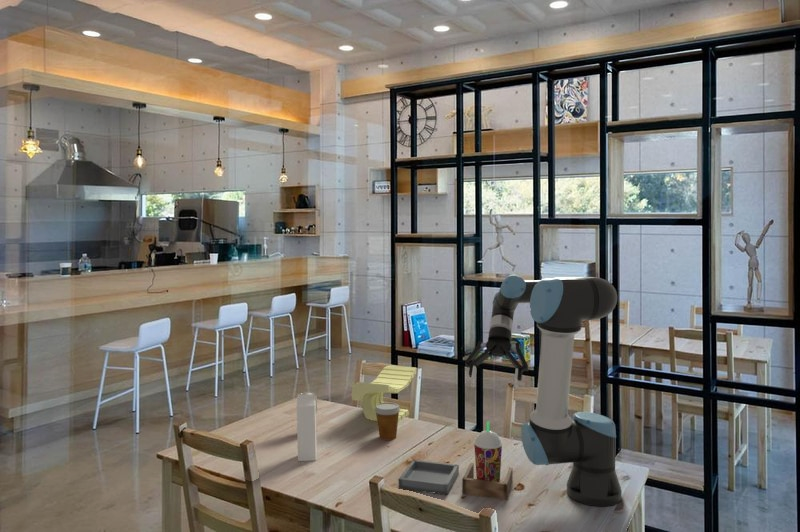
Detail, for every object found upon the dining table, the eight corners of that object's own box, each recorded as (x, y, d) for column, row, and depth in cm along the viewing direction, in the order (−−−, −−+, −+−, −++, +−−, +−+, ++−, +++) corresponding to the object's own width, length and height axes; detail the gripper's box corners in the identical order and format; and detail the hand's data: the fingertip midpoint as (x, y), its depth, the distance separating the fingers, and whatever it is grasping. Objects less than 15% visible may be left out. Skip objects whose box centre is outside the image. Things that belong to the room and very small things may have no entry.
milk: (315, 460, 194) (314, 396, 192) (297, 461, 193) (296, 397, 192) (316, 453, 200) (315, 391, 198) (299, 454, 199) (297, 392, 198)
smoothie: (502, 494, 167) (501, 427, 166) (473, 492, 169) (472, 425, 168) (502, 482, 175) (502, 418, 174) (475, 480, 177) (474, 416, 176)
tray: (458, 474, 182) (458, 464, 181) (447, 495, 167) (447, 485, 167) (413, 468, 186) (413, 459, 186) (398, 488, 172) (398, 478, 172)
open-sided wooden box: (512, 482, 175) (512, 467, 175) (507, 499, 164) (507, 484, 164) (470, 477, 179) (470, 462, 179) (462, 493, 168) (462, 478, 168)
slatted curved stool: (383, 404, 256) (382, 364, 255) (416, 407, 250) (415, 367, 249) (352, 425, 229) (351, 381, 228) (389, 430, 223) (388, 384, 222)
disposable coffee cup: (405, 438, 214) (405, 406, 213) (383, 443, 208) (383, 411, 208) (391, 431, 222) (390, 400, 221) (370, 436, 216) (369, 405, 215)
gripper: (538, 339, 193) (534, 396, 179) (465, 336, 200) (456, 390, 187) (537, 326, 187) (533, 383, 174) (462, 323, 195) (452, 378, 182)
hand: (493, 387), depth 180 cm, fingers open, 13 cm apart
